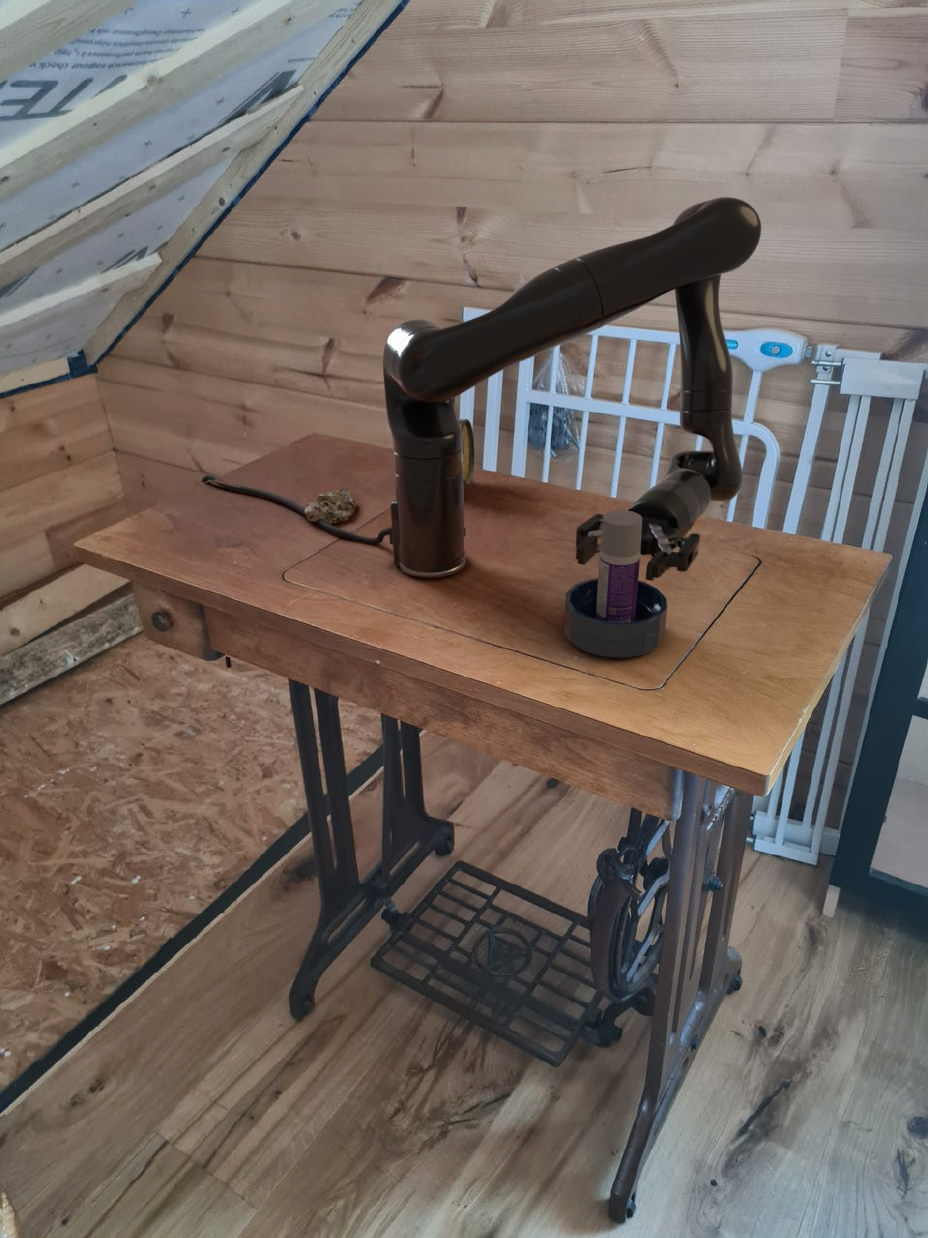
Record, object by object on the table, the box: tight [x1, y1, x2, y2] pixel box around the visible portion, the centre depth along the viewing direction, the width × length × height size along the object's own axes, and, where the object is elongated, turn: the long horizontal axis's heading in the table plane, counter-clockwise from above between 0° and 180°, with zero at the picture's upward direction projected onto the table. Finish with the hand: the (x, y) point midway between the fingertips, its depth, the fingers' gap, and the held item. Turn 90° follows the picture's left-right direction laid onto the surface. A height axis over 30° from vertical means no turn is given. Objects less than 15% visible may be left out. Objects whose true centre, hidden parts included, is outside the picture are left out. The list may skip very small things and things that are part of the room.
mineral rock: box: [304, 488, 357, 525], centre depth 146 cm, size 11×4×8 cm
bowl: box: [563, 577, 668, 659], centre depth 111 cm, size 12×12×5 cm
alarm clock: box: [453, 397, 475, 487], centre depth 151 cm, size 11×5×16 cm, turn 168°
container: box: [596, 509, 642, 623], centre depth 108 cm, size 5×5×15 cm
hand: (614, 564), depth 106 cm, fingers open, 8 cm apart
